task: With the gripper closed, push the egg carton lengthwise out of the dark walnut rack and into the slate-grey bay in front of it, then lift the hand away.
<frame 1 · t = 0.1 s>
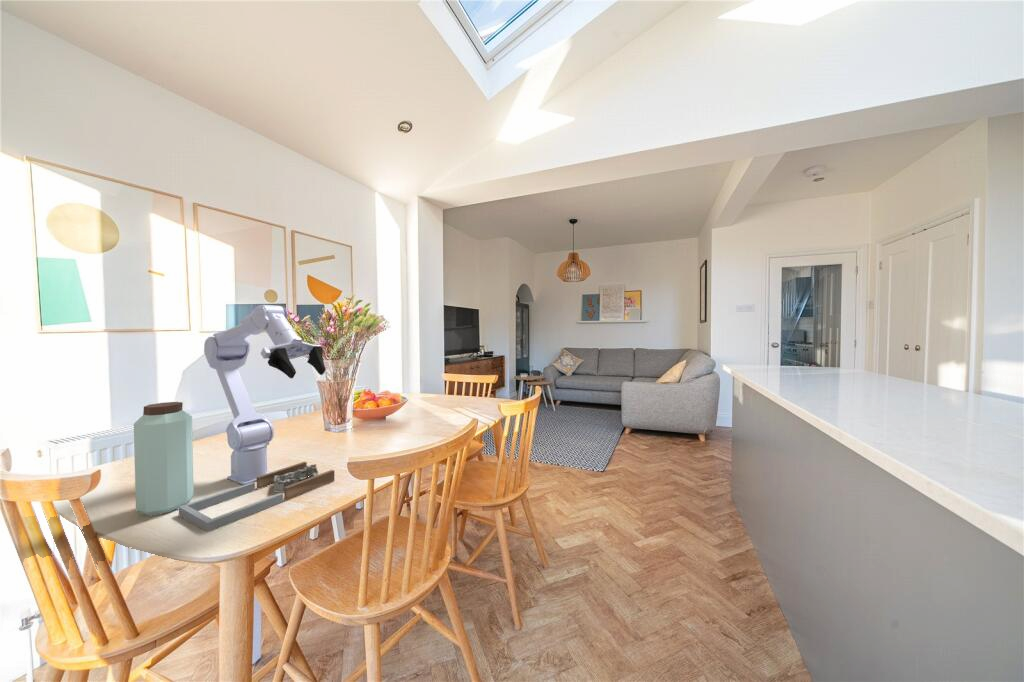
hand: (308, 373, 88), 32 cm above the table, tool tilted 50°, fingers open, 7 cm apart
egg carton: (296, 486, 98), on the table
grey bay: (232, 508, 84), on the table
walnut rack: (296, 484, 98), on the table
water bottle: (166, 507, 85), on the table
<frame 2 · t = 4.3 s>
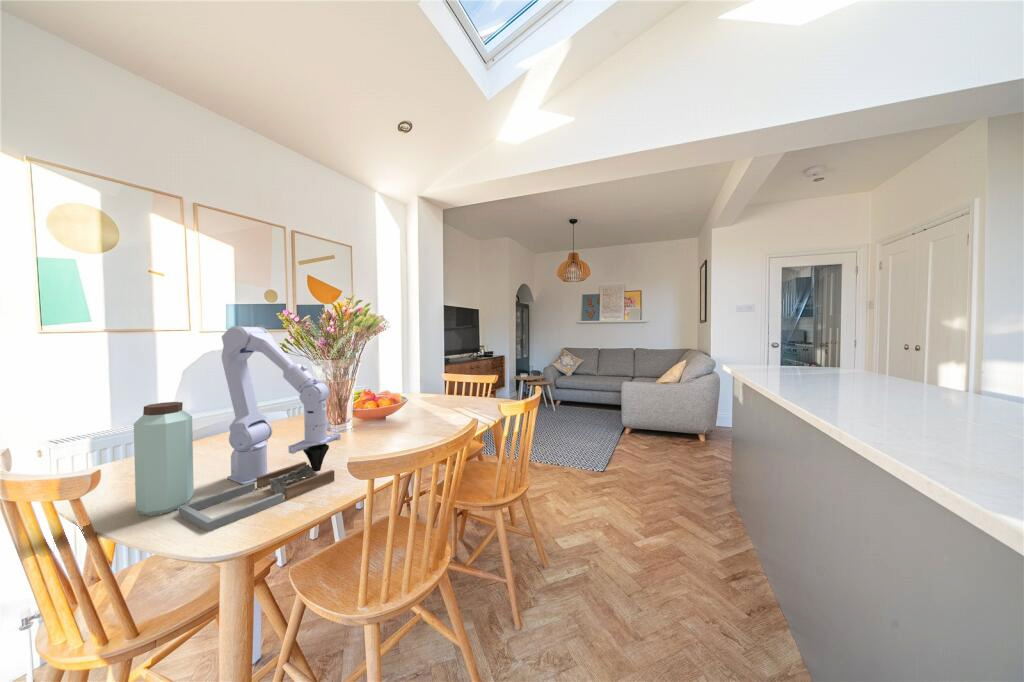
hand: (316, 470, 103), 2 cm above the table, tool pointing down, fingers closed
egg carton: (294, 487, 97), on the table, touching gripper
everything else where it was.
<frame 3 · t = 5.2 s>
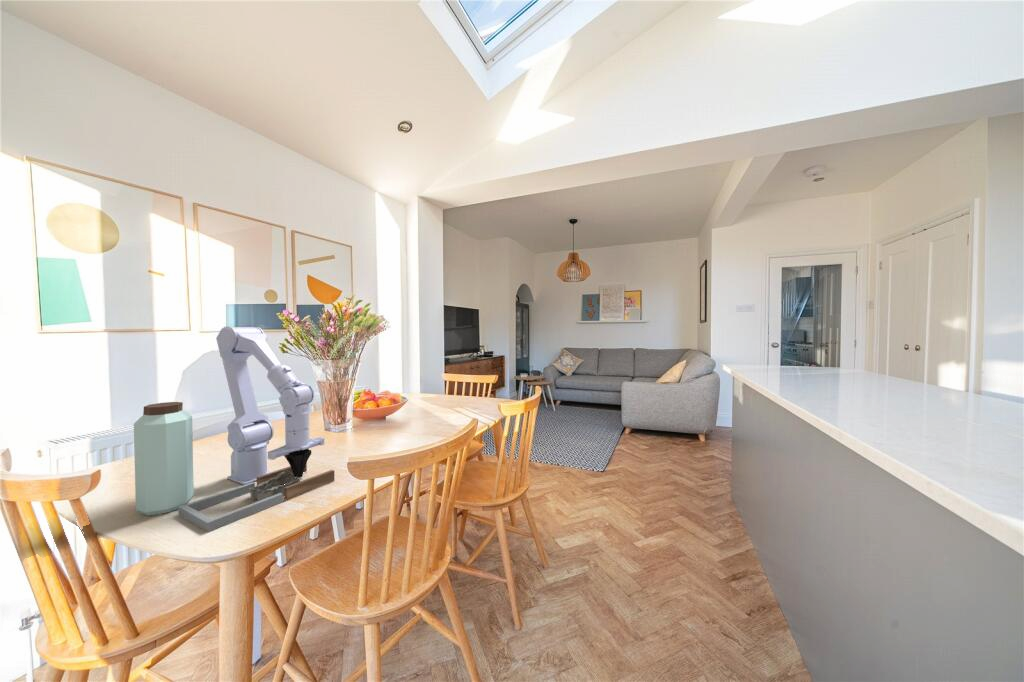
hand: (298, 477, 98), 2 cm above the table, tool pointing down, fingers closed
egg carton: (276, 494, 93), on the table, touching gripper
everything else where it was.
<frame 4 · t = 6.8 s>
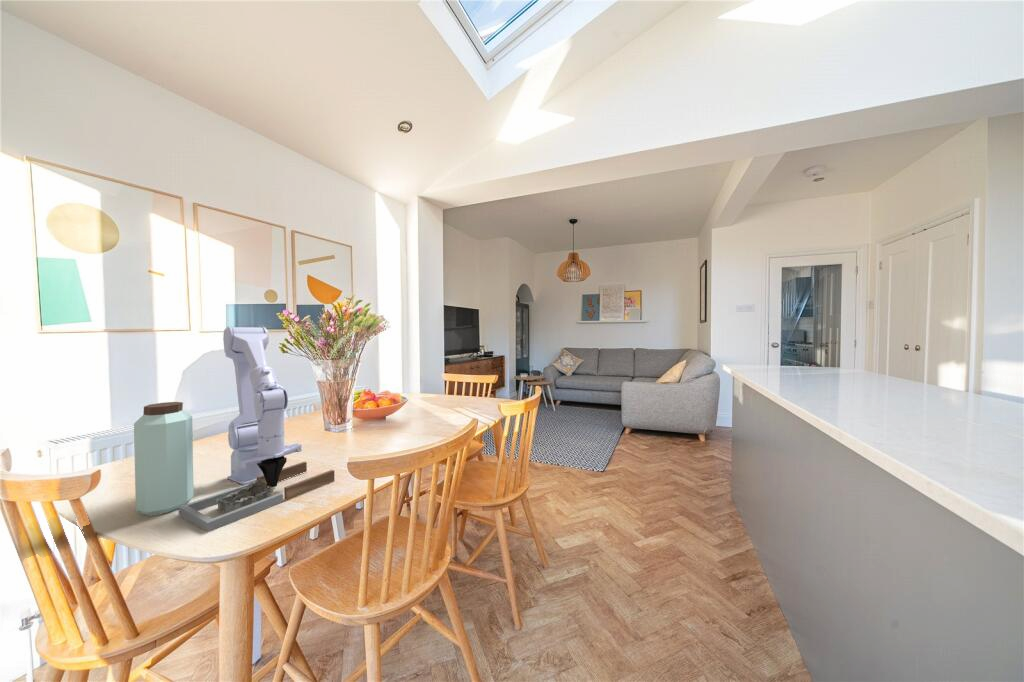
hand: (272, 486, 92), 2 cm above the table, tool pointing down, fingers closed
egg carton: (247, 505, 87), on the table, touching gripper
everything else where it was.
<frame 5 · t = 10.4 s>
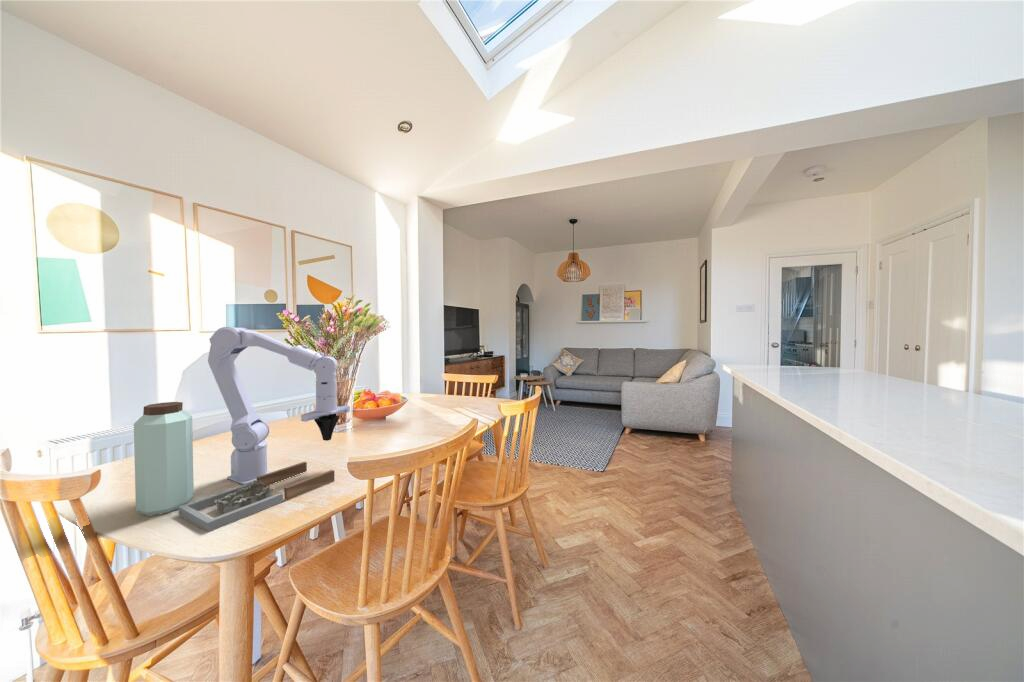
hand: (327, 439, 108), 9 cm above the table, tool pointing down, fingers closed
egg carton: (245, 506, 87), on the table
everything else where it was.
at the end: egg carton 1.9 cm off-centre on the grey bay, point -0.5 cm above the grey bay's base; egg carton tilted 0°; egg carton moved 12.6 cm from its start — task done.
